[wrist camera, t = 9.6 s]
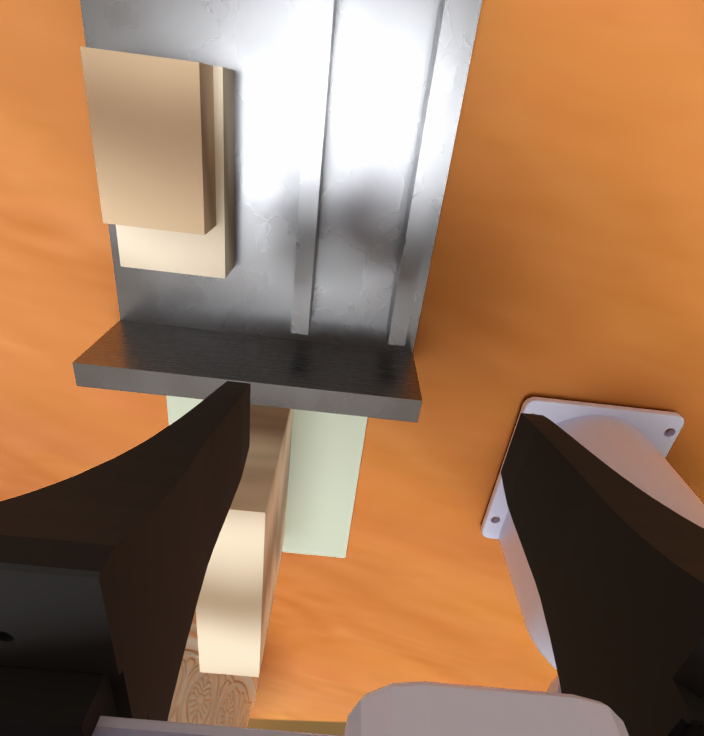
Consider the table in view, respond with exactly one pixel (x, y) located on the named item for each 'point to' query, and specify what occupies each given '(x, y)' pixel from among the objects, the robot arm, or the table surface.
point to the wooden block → (247, 553)
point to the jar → (210, 692)
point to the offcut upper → (152, 139)
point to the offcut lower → (216, 246)
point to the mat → (314, 477)
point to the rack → (300, 201)
